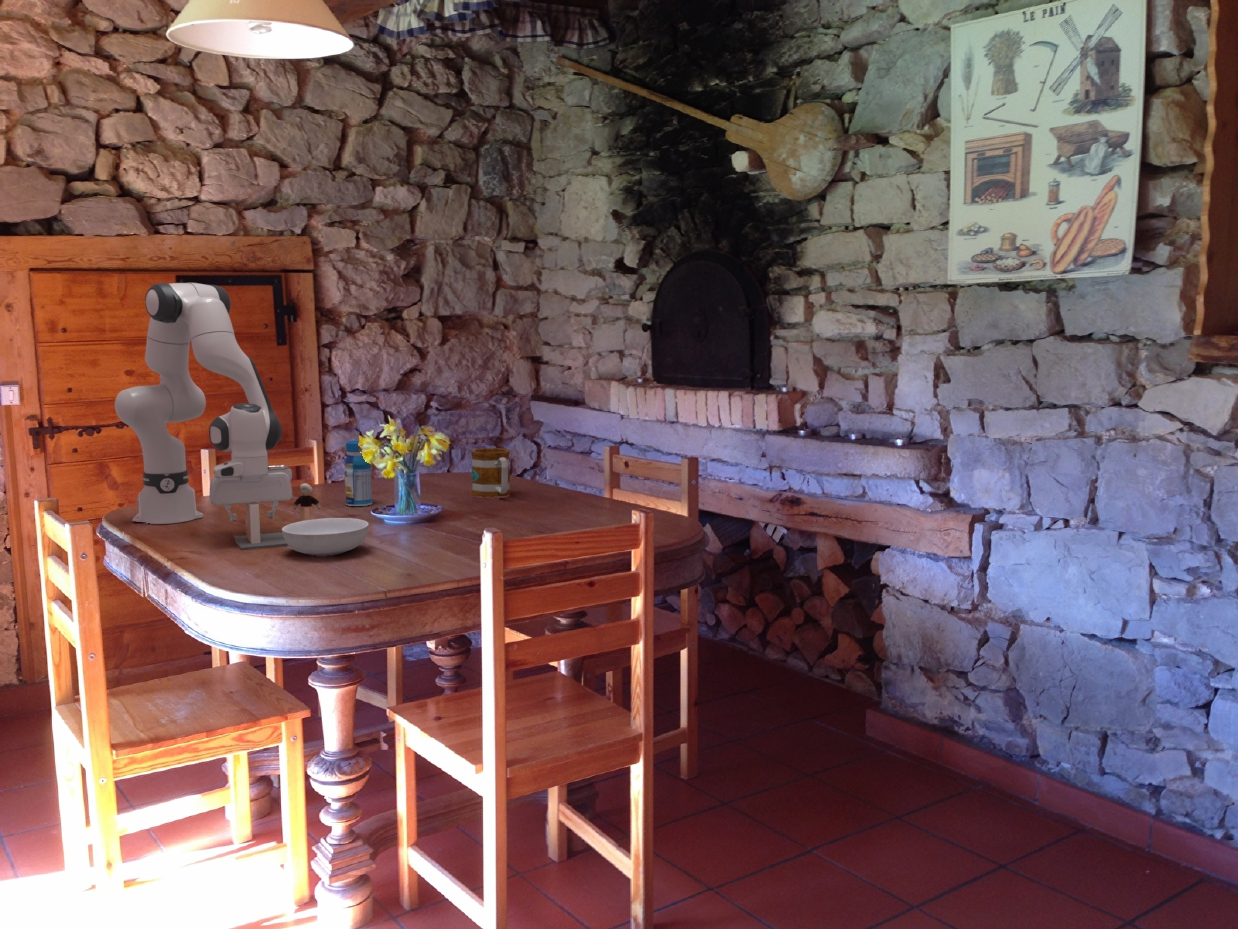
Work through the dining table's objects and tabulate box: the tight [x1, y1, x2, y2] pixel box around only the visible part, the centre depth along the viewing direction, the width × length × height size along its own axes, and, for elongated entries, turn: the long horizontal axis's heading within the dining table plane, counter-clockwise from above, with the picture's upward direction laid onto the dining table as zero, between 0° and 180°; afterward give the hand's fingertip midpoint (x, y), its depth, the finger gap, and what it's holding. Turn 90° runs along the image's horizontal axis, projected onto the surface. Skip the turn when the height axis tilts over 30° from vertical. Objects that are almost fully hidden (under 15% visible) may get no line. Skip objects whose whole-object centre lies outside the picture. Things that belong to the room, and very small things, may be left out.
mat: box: [233, 531, 290, 551], centre depth 272 cm, size 15×16×1 cm
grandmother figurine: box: [292, 482, 322, 522], centre depth 288 cm, size 8×4×13 cm, turn 105°
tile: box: [244, 502, 261, 544], centre depth 270 cm, size 8×2×10 cm, turn 27°
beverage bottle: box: [343, 439, 373, 507], centre depth 323 cm, size 8×8×20 cm
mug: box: [471, 447, 511, 497], centre depth 338 cm, size 20×14×15 cm
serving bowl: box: [281, 517, 370, 557], centre depth 260 cm, size 21×21×7 cm
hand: (252, 519), depth 270 cm, fingers open, 8 cm apart
